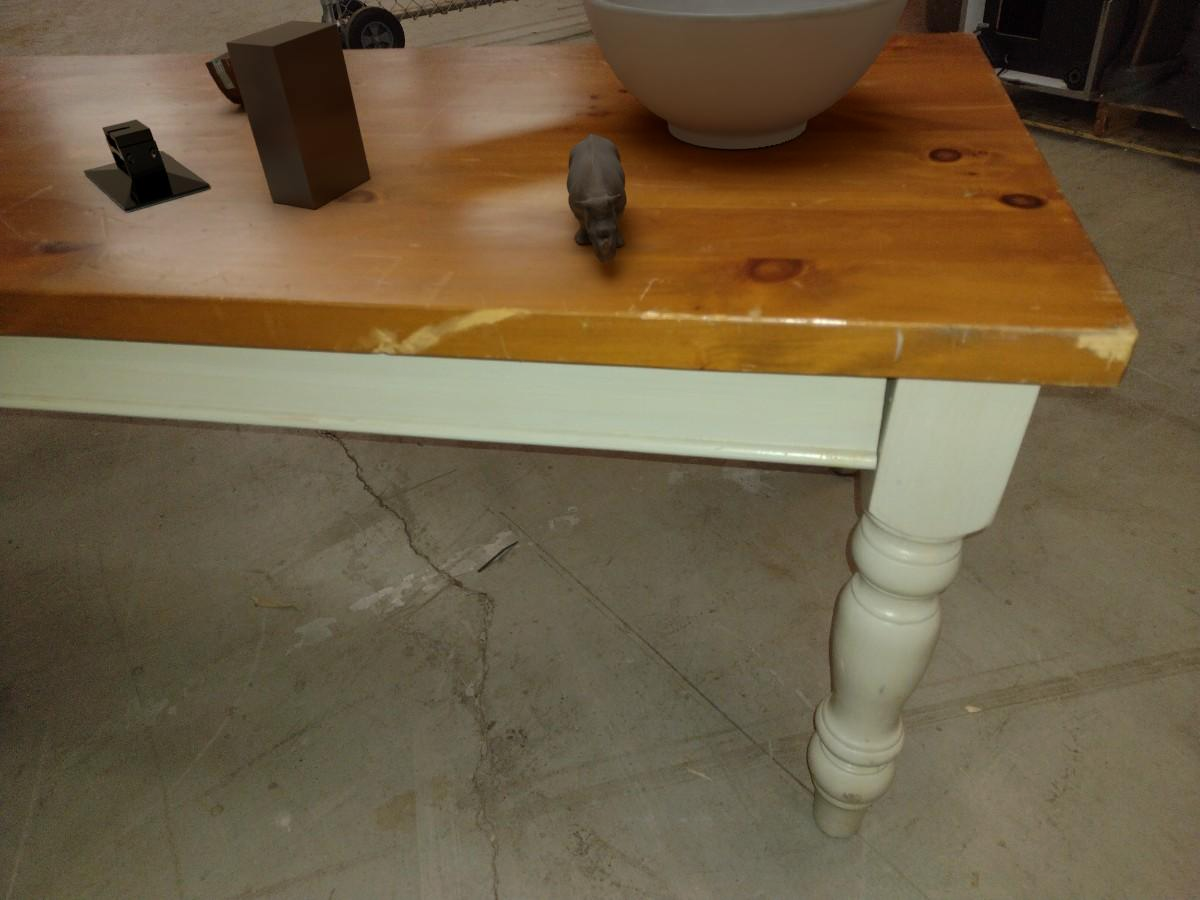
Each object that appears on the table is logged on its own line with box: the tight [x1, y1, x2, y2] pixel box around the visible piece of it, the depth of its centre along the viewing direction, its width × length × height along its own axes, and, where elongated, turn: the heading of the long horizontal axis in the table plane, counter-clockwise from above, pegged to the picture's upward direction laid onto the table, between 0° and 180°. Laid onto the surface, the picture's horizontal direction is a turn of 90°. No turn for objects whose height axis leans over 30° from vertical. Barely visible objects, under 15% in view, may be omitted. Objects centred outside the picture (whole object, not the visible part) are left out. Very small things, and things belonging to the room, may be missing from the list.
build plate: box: [83, 119, 211, 213], centre depth 74 cm, size 12×7×5 cm, turn 40°
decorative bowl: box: [581, 0, 909, 150], centre depth 75 cm, size 27×27×12 cm
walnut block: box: [225, 20, 371, 210], centre depth 68 cm, size 4×7×12 cm, turn 154°
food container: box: [204, 50, 244, 105], centre depth 91 cm, size 12×6×10 cm
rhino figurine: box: [566, 133, 628, 264], centre depth 59 cm, size 4×14×6 cm, turn 2°
